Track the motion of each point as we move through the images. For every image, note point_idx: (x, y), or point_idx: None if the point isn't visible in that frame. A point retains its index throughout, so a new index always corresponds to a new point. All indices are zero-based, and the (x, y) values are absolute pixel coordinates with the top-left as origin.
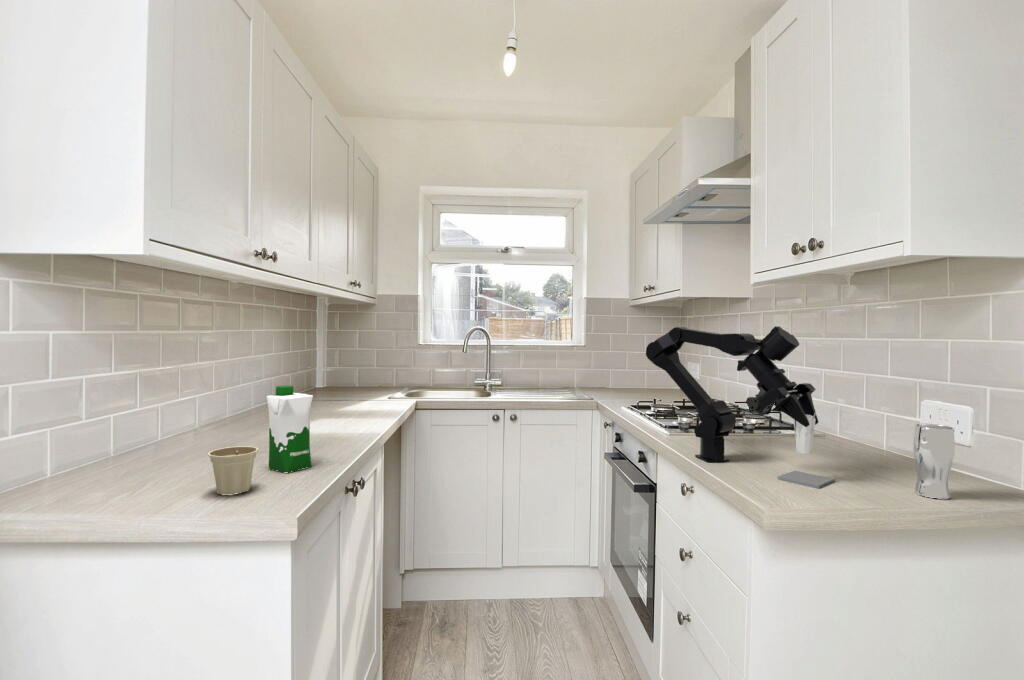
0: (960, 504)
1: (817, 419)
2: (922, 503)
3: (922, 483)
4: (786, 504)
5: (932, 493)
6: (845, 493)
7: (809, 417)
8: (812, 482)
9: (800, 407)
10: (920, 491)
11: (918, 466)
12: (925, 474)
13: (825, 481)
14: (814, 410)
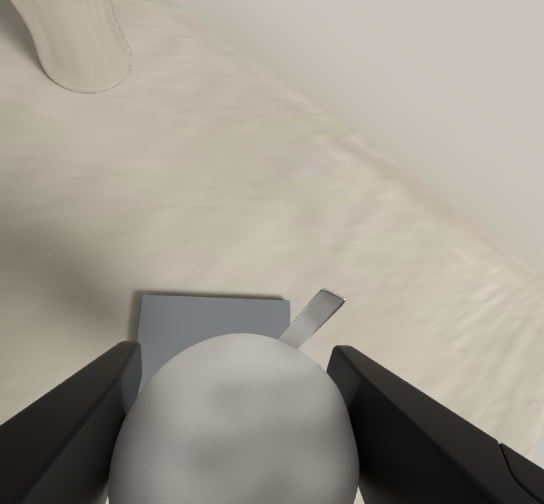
0: (133, 10)
1: (113, 353)
2: (202, 73)
3: (111, 44)
4: (506, 303)
5: (126, 44)
6: (272, 228)
7: (296, 377)
8: (264, 330)
9: (530, 483)
10: (119, 69)
11: (86, 2)
12: (107, 8)
13: (211, 304)
14: (28, 424)
